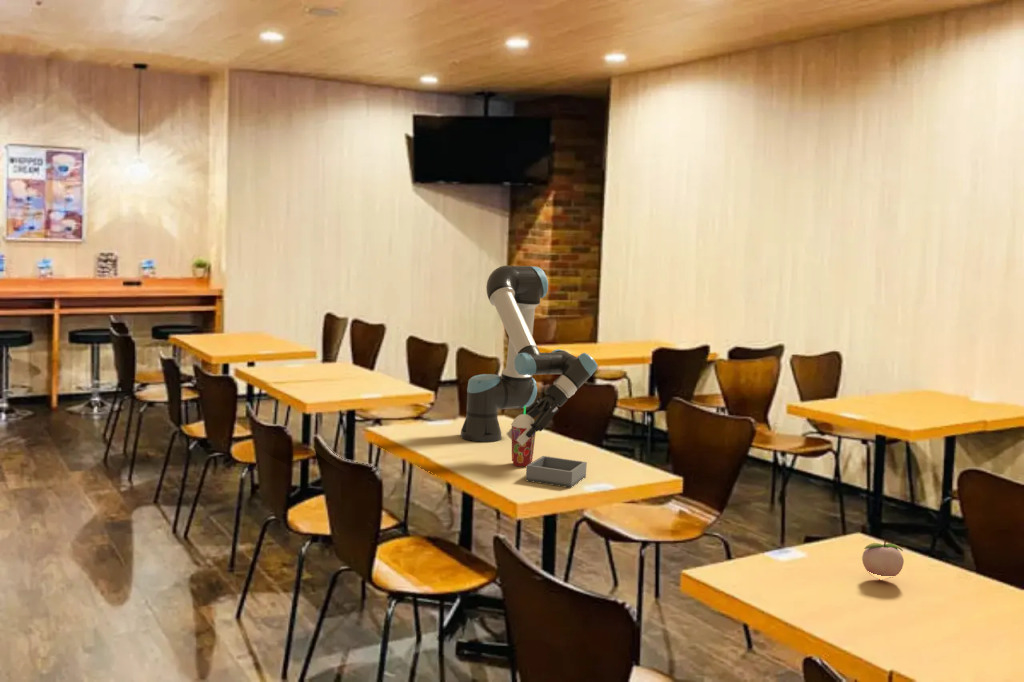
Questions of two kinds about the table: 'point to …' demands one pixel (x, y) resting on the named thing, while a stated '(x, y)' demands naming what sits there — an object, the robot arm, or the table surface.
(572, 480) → the holder tray
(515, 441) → the smoothie
